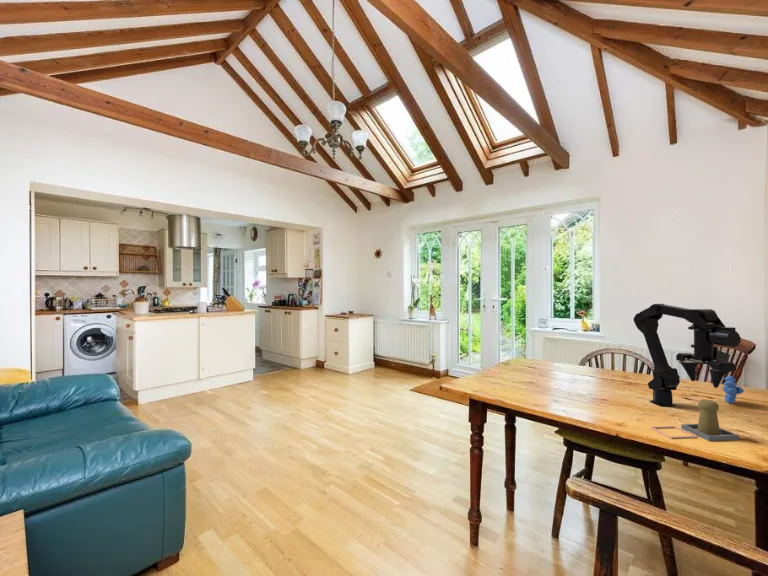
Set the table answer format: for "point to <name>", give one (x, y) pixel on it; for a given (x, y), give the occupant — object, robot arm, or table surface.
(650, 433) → the table surface
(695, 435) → the frame
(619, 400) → the table surface
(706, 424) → the cork
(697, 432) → the lower port socket
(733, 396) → the grapes
